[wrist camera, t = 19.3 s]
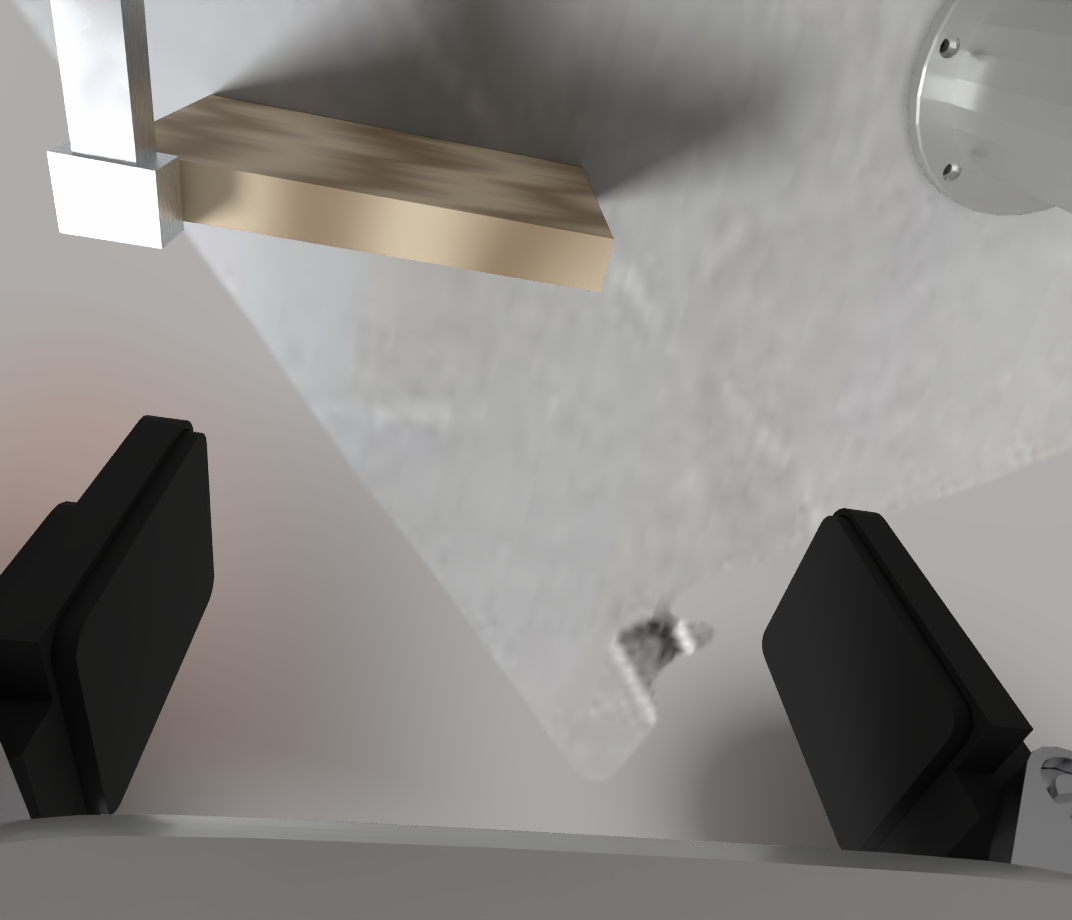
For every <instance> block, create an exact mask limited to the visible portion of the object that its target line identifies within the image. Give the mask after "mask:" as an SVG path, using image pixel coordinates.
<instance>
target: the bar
mask: <svg viewBox="0 0 1072 920" xmlns="http://www.w3.org/2000/svg"><path fill="white" fill-rule="evenodd" d="M50 2H51V9H52V16H53V23H54V30H55V37H56V44H57V51H58V58H59V65H60V72H61V79H62V86H63V93H64V100H65V107H66V114H67V121H68V128H69V135H70V142H68V143H65V144H63V145H61V146H58V147H56V148H54V149H52V150H49V151H47V155H48V161H49V167H50V173H51V179H52V186H53V192H54V198H55V205H56V211H57V217H58V223H59V230H60V232H62V233H68V234H74V235H80V236H86V237H92V238H99V239H104V240H110V241H116V242H122V243H128V244H135V245H140V246H147V247H153V248H159V249H162V248H164V247H165V246H166V245H167V244H168V243H169V242H170V241H172V240H173V239H174V238H175V237H176V236H177V235H178V234H180V233H181V232H182V231H183V230H184V227H183V213H182V198H181V183H180V168H179V156H175V155H170V154H164V153H159V152H156V141H155V129H154V117H153V105H152V93H151V81H150V68H149V56H148V44H147V32H146V20H145V8H144V0H50Z"/></svg>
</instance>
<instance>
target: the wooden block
mask: <svg viewBox="0 0 1072 920" xmlns="http://www.w3.org/2000/svg"><path fill="white" fill-rule="evenodd" d="M154 129H155V141H156V152H159V153H164V154H170V155H175V156H179V168H180V183H181V198H182V213H183V221H186V222H192V223H198V224H204V225H210V226H216V227H222V228H228V229H233V230H239V231H245V232H251V233H257V234H263V235H269V236H274V237H280V238H286V239H292V240H298V241H304V242H310V243H316V244H321V245H327V246H333V247H339V248H345V249H351V250H357V251H362V252H368V253H374V254H380V255H386V256H392V257H398V258H403V259H409V260H415V261H421V262H427V263H433V264H439V265H445V266H450V267H456V268H462V269H468V270H474V271H480V272H486V273H491V274H497V275H503V276H509V277H515V278H521V279H527V280H533V281H538V282H544V283H550V284H556V285H562V286H568V287H574V288H579V289H585V290H591V291H597V292H601V288H602V284H603V280H604V276H605V272H606V268H607V264H608V260H609V256H610V252H611V248H612V244H613V240H614V238H613V236H612V234H611V231H610V229H609V227H608V225H607V222H606V220H605V218H604V216H603V213H602V211H601V209H600V206H599V204H598V202H597V200H596V197H595V195H594V193H593V191H592V188H591V186H590V184H589V181H588V179H587V177H586V175H585V172H584V170H583V168H582V167H578V166H573V165H568V164H563V163H558V162H553V161H548V160H543V159H538V158H532V157H527V156H522V155H517V154H512V153H507V152H502V151H497V150H492V149H486V148H481V147H476V146H471V145H466V144H461V143H456V142H451V141H446V140H440V139H435V138H430V137H425V136H420V135H415V134H410V133H405V132H400V131H394V130H389V129H384V128H379V127H374V126H369V125H364V124H359V123H354V122H348V121H343V120H338V119H333V118H328V117H323V116H318V115H313V114H308V113H302V112H297V111H292V110H287V109H282V108H277V107H272V106H267V105H262V104H256V103H251V102H246V101H241V100H236V99H231V98H226V97H221V96H216V95H209V96H207V97H205V98H203V99H200V100H198V101H196V102H194V103H192V104H190V105H188V106H186V107H184V108H182V109H180V110H177V111H175V112H173V113H171V114H169V115H167V116H165V117H163V118H161V119H159V120H157V121H155V122H154Z"/></svg>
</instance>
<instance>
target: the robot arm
mask: <svg viewBox="0 0 1072 920" xmlns="http://www.w3.org/2000/svg"><path fill="white" fill-rule="evenodd" d="M943 41H944V42H945V44H944V47H943V48H942V50H940V45H941V44H942V42H943ZM939 50H940V51H939ZM908 126H909V136H910V140H911V144H912V148H913V151H914V155H915V158H916V160H917V162H918V163H919V165H920V167H921V169H922V171H923V173H924V175H925V176H926V178H927V179H928V180H929V181H930V182H931V183H932V184H933V185H934V186H935V187H936V188H937V190H938V191H939V192H941V193H942V194H944V195H945V196H947V197H949V198H950V199H952V200H953V201H955V202H956V203H959V204H961V205H963V206H965V207H967V208H970V209H972V210H974V211H977V212H982V213H987V214H992V215H1023V214H1028V213H1033V212H1039V211H1044V210H1047V209H1050V208H1052V207H1055V206H1056V207H1059V208H1061V209H1063V210H1065V211H1068V212H1070V213H1072V0H946V1H945V3H944V4H943V6H942V7H941V9H940V11H939V12H938V14H937V15H936V17H935V18H934V20H933V23H932V25H931V27H930V29H929V31H928V33H927V35H926V38H925V40H924V42H923V44H922V46H921V48H920V51H919V55H918V58H917V61H916V65H915V68H914V72H913V75H912V78H911V85H910V93H909V100H908ZM946 166H947V168H946ZM945 168H946V169H945ZM944 169H945V171H944ZM213 582H214V567H213V547H212V529H211V513H210V493H209V475H208V458H207V442H206V437H205V434H203V433H199V432H193V427H192V424H191V423H190V422H189V421H187V420H179V419H172V418H164V417H157V416H150V415H146V416H143V417H142V418H141V419H140V420H139V421H138V423H137V424H136V425H135V427H134V428H133V429H132V431H131V432H130V433H129V435H128V436H127V437H126V438H125V440H124V441H123V442H122V444H121V445H120V446H119V448H118V449H117V451H116V452H115V453H114V454H113V456H112V457H111V458H110V460H109V461H108V462H107V464H106V465H105V466H104V467H103V469H102V470H101V471H100V473H99V474H98V475H97V477H96V478H95V479H94V481H93V482H92V483H91V485H90V486H89V487H88V489H87V490H86V491H85V493H84V494H83V495H82V496H81V498H80V499H79V500H78V502H77V503H76V502H68V501H66V502H63V503H60V504H58V505H57V506H56V507H55V508H54V509H53V510H52V511H51V512H50V513H49V515H48V516H47V517H46V519H45V520H44V521H43V522H42V524H41V525H40V526H39V527H38V529H37V530H36V531H35V532H34V534H33V535H32V536H31V538H30V539H29V540H28V541H27V542H26V544H25V545H24V546H23V547H22V549H21V550H20V551H19V552H18V554H17V555H16V556H15V558H14V559H13V560H12V561H11V563H10V564H9V565H8V566H7V568H6V569H5V570H4V571H3V573H2V574H1V575H0V920H1072V751H1070V750H1066V749H1063V748H1059V747H1041V748H1039V749H1037V750H1035V751H1033V752H1032V753H1031V752H1030V751H1029V749H1028V748H1027V746H1026V745H1025V743H1024V742H1023V740H1024V739H1025V738H1026V737H1027V736H1028V734H1030V732H1031V731H1032V730H1033V728H1032V727H1031V725H1030V724H1029V722H1028V721H1027V720H1026V718H1025V717H1024V715H1023V714H1022V713H1021V711H1020V710H1019V708H1018V707H1017V705H1016V704H1015V703H1014V701H1013V700H1012V698H1011V697H1010V696H1009V694H1008V693H1007V691H1006V690H1005V688H1004V687H1003V686H1002V684H1001V683H1000V681H999V680H998V679H997V677H996V676H995V674H994V673H993V672H992V670H991V669H990V667H989V666H988V665H987V663H986V662H985V660H984V659H983V658H982V656H981V655H980V653H979V652H978V651H977V649H976V648H975V646H974V645H973V643H972V642H971V641H970V639H969V638H968V637H967V635H966V633H965V632H964V631H963V629H962V628H961V626H960V625H959V624H958V622H957V621H956V619H955V618H954V617H953V615H952V614H951V612H950V611H949V609H948V608H947V607H946V605H945V604H944V603H943V601H942V600H941V598H940V597H939V596H938V594H937V593H936V591H935V590H934V588H933V587H932V586H931V584H930V583H929V581H928V580H927V578H926V577H925V576H924V574H923V573H922V572H921V570H920V569H919V567H918V566H917V564H916V563H915V562H914V560H913V559H912V557H911V556H910V555H909V553H908V552H907V550H906V549H905V547H904V546H903V545H902V543H901V542H900V540H899V539H898V538H897V536H896V535H895V533H894V532H893V531H892V529H891V528H890V526H889V525H888V523H887V522H886V521H885V519H884V518H883V517H882V516H881V515H880V514H878V513H875V512H868V511H861V510H853V509H846V508H843V509H839V510H838V511H836V512H835V513H834V514H833V516H827V517H826V518H825V519H824V520H823V521H822V523H821V524H820V526H819V528H818V530H817V532H816V534H815V536H814V538H813V540H812V542H811V544H810V546H809V548H808V549H807V551H806V553H805V555H804V557H803V559H802V561H801V563H800V565H799V567H798V569H797V570H796V573H795V574H794V576H793V578H792V580H791V582H790V584H789V586H788V588H787V590H786V591H785V593H784V595H783V597H782V599H781V601H780V603H779V605H778V607H777V609H776V611H775V613H774V614H773V616H772V619H771V620H770V622H769V624H768V626H767V628H766V630H765V632H764V635H763V640H762V649H763V654H764V657H765V660H766V662H767V665H768V668H769V670H770V672H771V675H772V678H773V680H774V683H775V685H776V688H777V690H778V693H779V695H780V698H781V700H782V703H783V705H784V708H785V710H786V713H787V715H788V718H789V720H790V723H791V726H792V728H793V731H794V733H795V736H796V738H797V741H798V743H799V745H800V748H801V751H802V753H803V756H804V758H805V761H806V763H807V766H808V768H809V771H810V774H811V776H812V779H813V781H814V784H815V786H816V789H817V791H818V794H819V796H820V798H821V801H822V804H823V806H824V809H825V811H826V814H827V816H828V819H829V822H830V824H831V827H832V829H833V831H834V834H835V837H836V839H837V842H838V844H839V846H840V848H841V849H842V850H833V849H819V848H802V847H787V846H771V845H755V844H739V843H723V842H706V841H689V840H670V839H654V838H636V837H620V836H601V835H584V834H565V833H548V832H530V831H513V830H495V829H494V830H493V829H474V828H456V827H435V826H417V825H397V824H395V825H394V824H378V823H358V822H339V821H319V820H318V821H317V820H299V819H273V818H272V819H271V818H244V817H216V816H215V817H214V816H187V815H158V814H145V815H143V814H141V815H100V814H113V813H114V812H115V811H116V810H117V808H118V807H119V805H120V803H121V801H122V799H123V797H124V794H125V792H126V790H127V787H128V785H129V783H130V781H131V778H132V776H133V774H134V771H135V769H136V767H137V765H138V762H139V760H140V758H141V755H142V753H143V751H144V748H145V746H146V744H147V742H148V739H149V737H150V735H151V733H152V730H153V728H154V726H155V723H156V721H157V719H158V716H159V714H160V712H161V710H162V707H163V705H164V703H165V700H166V698H167V696H168V694H169V691H170V689H171V687H172V684H173V682H174V680H175V677H176V675H177V673H178V671H179V668H180V666H181V664H182V662H183V659H184V657H185V655H186V652H187V650H188V648H189V645H190V643H191V641H192V639H193V636H194V634H195V632H196V629H197V627H198V625H199V622H200V620H201V618H202V616H203V613H204V611H205V609H206V607H207V604H208V602H209V599H210V597H211V593H212V588H213Z"/></svg>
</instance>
